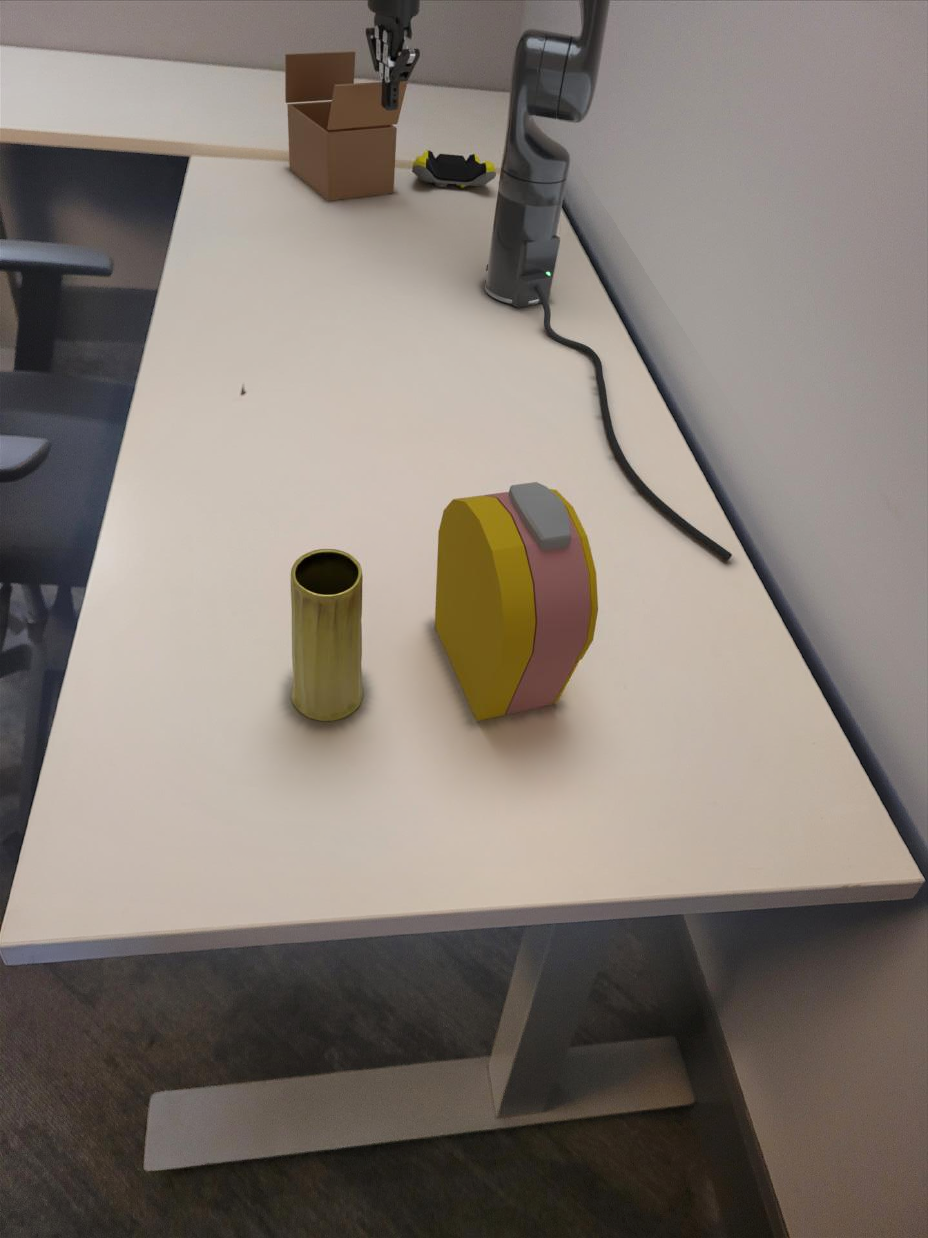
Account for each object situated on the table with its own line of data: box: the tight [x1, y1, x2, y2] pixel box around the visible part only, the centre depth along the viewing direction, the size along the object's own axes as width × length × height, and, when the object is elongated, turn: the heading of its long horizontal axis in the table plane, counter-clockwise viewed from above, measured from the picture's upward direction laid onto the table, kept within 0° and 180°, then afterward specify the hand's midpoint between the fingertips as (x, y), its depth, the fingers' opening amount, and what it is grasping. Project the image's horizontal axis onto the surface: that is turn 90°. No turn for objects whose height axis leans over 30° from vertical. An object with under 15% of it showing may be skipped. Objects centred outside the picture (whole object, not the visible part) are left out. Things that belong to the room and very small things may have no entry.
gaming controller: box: [411, 149, 497, 188], centre depth 155 cm, size 15×6×10 cm
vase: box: [290, 548, 365, 722], centre depth 67 cm, size 6×6×14 cm
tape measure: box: [434, 481, 599, 722], centre depth 70 cm, size 15×8×18 cm, turn 20°
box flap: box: [327, 81, 408, 130], centre depth 137 cm, size 7×13×1 cm
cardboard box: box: [284, 50, 398, 202], centre depth 146 cm, size 16×13×18 cm
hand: (389, 108), depth 133 cm, fingers closed
